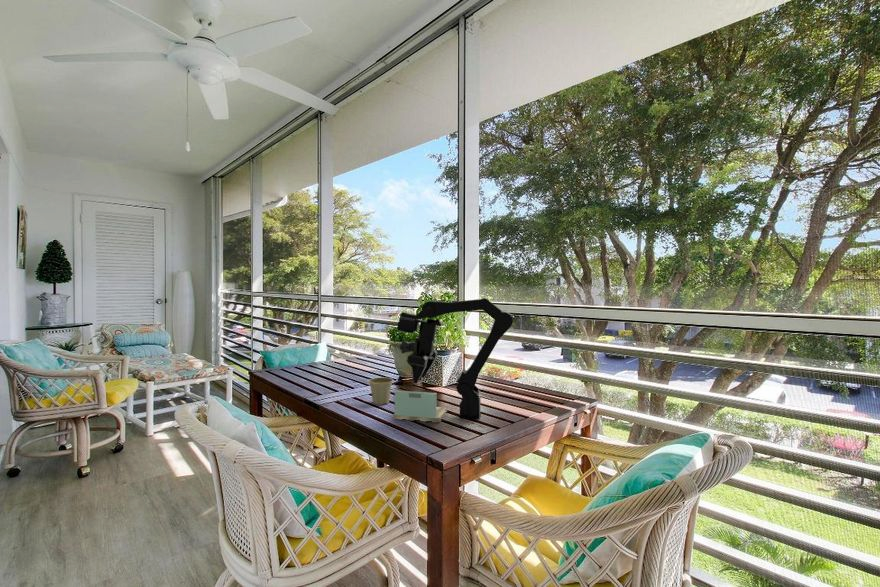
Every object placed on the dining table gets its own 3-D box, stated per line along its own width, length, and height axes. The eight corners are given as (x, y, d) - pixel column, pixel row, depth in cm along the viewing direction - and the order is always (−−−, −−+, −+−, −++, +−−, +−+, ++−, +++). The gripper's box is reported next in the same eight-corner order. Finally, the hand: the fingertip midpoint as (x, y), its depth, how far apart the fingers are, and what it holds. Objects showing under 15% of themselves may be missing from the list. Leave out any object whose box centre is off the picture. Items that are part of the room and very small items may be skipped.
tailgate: (436, 417, 139) (436, 393, 138) (435, 418, 137) (435, 394, 137) (396, 414, 142) (396, 390, 141) (394, 415, 140) (394, 391, 140)
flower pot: (369, 407, 155) (369, 383, 155) (367, 400, 165) (367, 378, 164) (395, 405, 158) (395, 382, 158) (391, 398, 167) (391, 376, 167)
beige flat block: (447, 411, 150) (447, 407, 150) (439, 422, 139) (439, 418, 139) (404, 408, 154) (404, 404, 154) (393, 418, 142) (393, 414, 142)
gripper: (412, 329, 157) (405, 370, 158) (396, 334, 139) (388, 380, 140) (441, 335, 155) (433, 376, 156) (428, 341, 137) (420, 388, 138)
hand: (419, 380), depth 147 cm, fingers open, 9 cm apart
